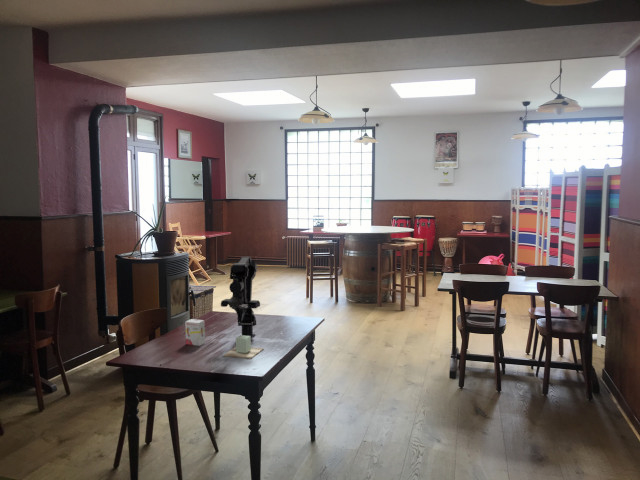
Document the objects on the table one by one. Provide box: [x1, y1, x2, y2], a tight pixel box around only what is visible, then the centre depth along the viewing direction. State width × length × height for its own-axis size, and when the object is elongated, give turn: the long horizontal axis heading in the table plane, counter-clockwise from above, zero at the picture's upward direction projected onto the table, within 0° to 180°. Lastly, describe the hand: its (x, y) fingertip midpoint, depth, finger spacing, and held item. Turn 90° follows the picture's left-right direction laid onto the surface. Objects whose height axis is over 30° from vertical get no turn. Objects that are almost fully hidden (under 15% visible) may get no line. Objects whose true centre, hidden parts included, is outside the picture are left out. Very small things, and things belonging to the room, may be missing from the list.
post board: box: [223, 346, 264, 360], centre depth 243 cm, size 14×14×1 cm
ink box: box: [184, 318, 206, 347], centre depth 258 cm, size 9×5×12 cm, turn 68°
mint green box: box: [235, 334, 252, 353], centre depth 243 cm, size 5×5×7 cm
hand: (240, 320), depth 253 cm, fingers closed
